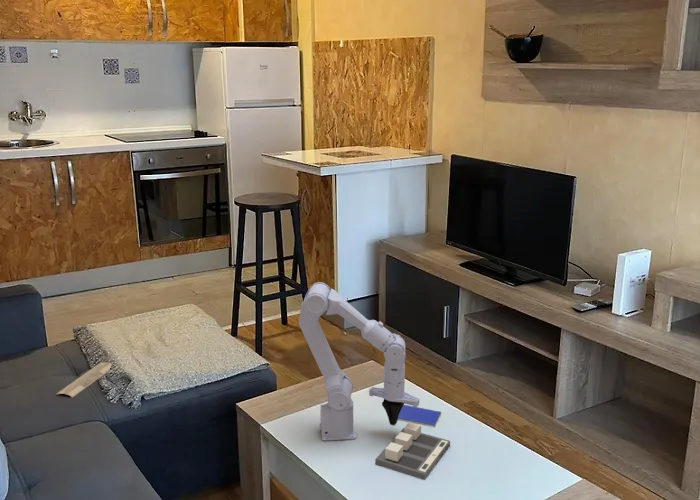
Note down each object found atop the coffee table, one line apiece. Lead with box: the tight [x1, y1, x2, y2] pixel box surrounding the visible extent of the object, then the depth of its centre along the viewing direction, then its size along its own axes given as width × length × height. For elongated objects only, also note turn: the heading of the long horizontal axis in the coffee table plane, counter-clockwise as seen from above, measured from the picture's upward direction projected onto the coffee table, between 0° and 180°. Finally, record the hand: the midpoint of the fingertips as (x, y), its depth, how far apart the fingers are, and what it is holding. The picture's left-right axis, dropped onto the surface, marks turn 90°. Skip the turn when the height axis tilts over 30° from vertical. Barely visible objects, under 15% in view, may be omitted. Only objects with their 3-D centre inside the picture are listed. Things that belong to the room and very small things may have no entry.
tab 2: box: [394, 431, 412, 451], centre depth 184 cm, size 4×4×3 cm
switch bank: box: [374, 427, 451, 480], centre depth 183 cm, size 14×18×2 cm
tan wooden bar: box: [55, 362, 113, 399], centre depth 224 cm, size 24×7×2 cm, turn 166°
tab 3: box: [403, 422, 422, 440], centre depth 189 cm, size 4×4×3 cm
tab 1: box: [384, 441, 403, 462], centre depth 178 cm, size 4×4×3 cm
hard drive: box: [397, 404, 442, 428], centre depth 203 cm, size 2×8×12 cm
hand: (393, 423), depth 191 cm, fingers closed
